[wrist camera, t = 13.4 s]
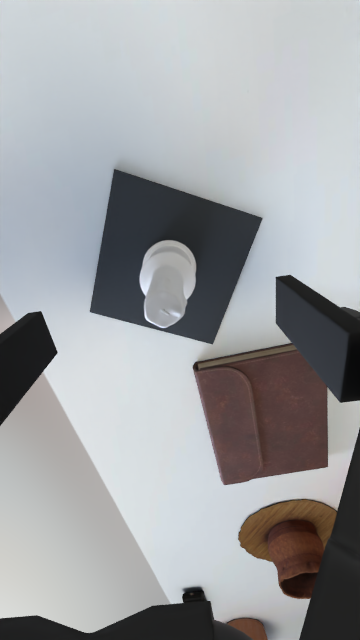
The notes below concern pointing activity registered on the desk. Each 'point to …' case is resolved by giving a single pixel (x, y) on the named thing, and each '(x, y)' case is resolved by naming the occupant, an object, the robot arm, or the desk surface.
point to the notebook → (264, 413)
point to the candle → (167, 282)
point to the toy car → (193, 597)
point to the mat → (178, 225)
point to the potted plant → (250, 628)
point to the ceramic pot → (290, 541)
